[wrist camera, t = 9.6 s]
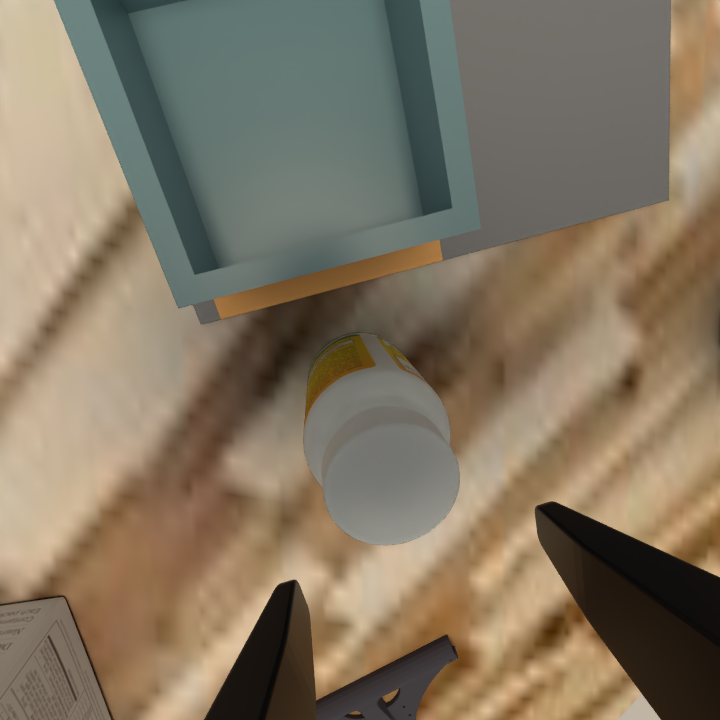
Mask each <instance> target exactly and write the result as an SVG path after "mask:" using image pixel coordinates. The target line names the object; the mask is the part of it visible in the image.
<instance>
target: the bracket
mask: <svg viewBox="0 0 720 720" xmlns="http://www.w3.org/2000/svg"><path fill="white" fill-rule="evenodd" d="M456 659H458V655H457V652H456V649H455V647H454V646H451V644H450V642H449V639H448V636H447V635H445V636H443V637H441V638H439V639H437V640H435V641H433V642H431V643H429V644H427V645H425V646H423V647H421V648H419V649H417V650H416V651H414V652H412V653H410V654H408V655H406V656H404V657H402V658H400V659H398V660H396V661H394V662H392V663H390V664H388V665H386V666H384V667H382V668H380V669H378V670H376V671H374V672H372V673H370V674H368V675H366V676H364V677H362V678H360V679H358V680H356V681H355V682H353V683H351V684H349V685H347V686H345V687H343V688H341V689H339V690H337V691H335V692H333V693H331V694H329V695H327V696H325V697H323V698H321V699H319V700H317V701H316V720H416V712H417V708H418V706H419V703H420V701H421V699H422V696H423V694H424V692H425V691H426V689H427V687H428V686H429V684H430V683H431V681H432V680H433V679H434V677H435V676H436V675H437V674H438V673H439V671H440V670H441V669H442V668H443V667H444V666H445V665H446V664H448V663H450V662H452V661H454V660H456ZM398 688H399V691H398V693H397V694H396V696H395V697H394V698H393V699H392V700H391V701H389V702H387V703H385V701H384V700H383V699H382V697H383V696H385V695H387V694H389V693H391V692H393V691H394V690H396V689H398ZM353 711H359V712H360V713H361V714H359V715H351V714H349V713H351V712H353Z"/></svg>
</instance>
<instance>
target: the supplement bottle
mask: <svg viewBox="0 0 720 720" xmlns="http://www.w3.org/2000/svg"><path fill="white" fill-rule="evenodd" d="M303 444H304V453H305V457H306V460H307V464H308V466H309V468H310V470H311V472H312V474H313V475H314V477H315V478H316V480H317V481H318V482H319V483H320V485H321V486H322V487H323V495H324V501H325V504H326V507H327V510H328V512H329V514H330V516H331V518H332V519H333V521H334V522H335V523H336V525H337V526H338V527H339V528H340V529H341V530H342V531H344V532H345V533H346V534H348V535H349V536H351V537H353V538H354V539H357V540H359V541H362V542H365V543H369V544H374V545H395V544H401V543H405V542H409V541H411V540H414V539H416V538H418V537H420V536H422V535H424V534H426V533H428V532H429V531H431V530H432V529H433V528H435V527H436V526H437V525H438V524H439V523H440V522H441V521H442V520H443V519H444V518H445V517H446V515H447V514H448V512H449V511H450V509H451V508H452V506H453V504H454V502H455V499H456V497H457V494H458V490H459V485H460V471H459V466H458V462H457V459H456V457H455V454H454V452H453V451H452V449H451V447H450V446H449V445H450V424H449V419H448V415H447V412H446V409H445V407H444V405H443V403H442V401H441V400H440V398H439V397H438V395H437V394H436V392H435V391H434V390H433V389H432V388H431V386H430V385H429V384H428V383H427V382H426V381H425V379H424V378H423V377H422V376H421V375H420V374H419V373H418V371H417V370H416V369H415V368H414V367H413V366H412V364H411V363H410V362H409V361H408V360H407V359H406V357H405V356H404V355H403V354H402V353H401V352H400V351H399V350H398V349H397V348H396V347H395V346H394V345H393V344H392V343H390V342H389V341H387V340H386V339H384V338H382V337H380V336H377V335H374V334H369V333H352V334H347V335H344V336H342V337H339V338H337V339H336V340H334V341H332V342H331V343H329V344H328V345H327V346H325V347H324V348H323V349H322V350H321V351H320V352H319V354H318V355H317V356H316V358H315V359H314V361H313V363H312V366H311V368H310V372H309V376H308V386H307V397H306V411H305V423H304V435H303Z"/></svg>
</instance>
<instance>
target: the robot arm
mask: <svg viewBox="0 0 720 720" xmlns="http://www.w3.org/2000/svg"><path fill="white" fill-rule="evenodd" d="M535 518H536V526H537V534H538V538H539V541H540V543H541V545H542V547H543V549H544V550H545V552H546V554H547V555H548V557H549V558H550V560H551V562H552V563H553V565H554V567H555V568H556V570H557V572H558V573H559V575H560V576H561V578H562V580H563V581H564V583H565V585H566V586H567V588H568V589H569V591H570V593H571V594H572V596H573V598H574V599H575V601H576V603H577V604H578V606H579V607H580V609H581V611H582V612H583V614H584V615H585V617H586V618H587V620H588V621H589V623H590V624H591V625H592V627H593V628H594V630H595V631H596V632H597V634H598V635H599V636H600V638H601V639H602V640H603V642H604V643H605V645H606V646H607V647H608V649H609V650H610V651H611V653H612V654H613V655H614V657H615V658H616V659H617V661H618V662H619V663H620V665H621V666H622V667H623V669H624V670H625V672H626V673H627V674H628V676H629V677H630V678H631V680H632V681H633V682H634V684H635V685H636V686H637V688H638V689H639V690H640V692H641V693H642V694H643V696H644V697H645V699H646V700H647V701H648V703H649V704H650V705H651V707H652V708H653V709H654V711H655V712H656V713H657V715H658V716H659V717H660V719H661V720H720V577H718V576H716V575H714V574H711V573H709V572H707V571H705V570H703V569H700V568H698V567H696V566H694V565H692V564H690V563H687V562H685V561H683V560H681V559H679V558H677V557H674V556H672V555H670V554H668V553H666V552H663V551H661V550H659V549H657V548H655V547H653V546H650V545H648V544H646V543H644V542H642V541H640V540H637V539H635V538H633V537H631V536H629V535H626V534H624V533H622V532H620V531H618V530H616V529H613V528H611V527H609V526H607V525H605V524H602V523H600V522H598V521H596V520H594V519H592V518H589V517H587V516H585V515H583V514H581V513H579V512H576V511H574V510H572V509H570V508H568V507H565V506H563V505H561V504H559V503H557V502H553V501H551V502H547V503H544V504H540V505H537V506H536V507H535ZM204 720H316V693H315V678H314V664H313V650H312V637H311V623H310V614H309V609H308V605H307V603H306V600H305V598H304V595H303V593H302V590H301V587H300V585H299V583H298V581H297V580H290V581H287V582H284V583H280V584H279V585H277V587H276V588H275V590H274V592H273V593H272V595H271V597H270V599H269V601H268V603H267V605H266V606H265V608H264V610H263V612H262V614H261V616H260V617H259V619H258V621H257V623H256V625H255V627H254V628H253V630H252V632H251V634H250V636H249V638H248V640H247V641H246V643H245V645H244V647H243V649H242V651H241V652H240V654H239V656H238V658H237V660H236V662H235V663H234V665H233V667H232V669H231V671H230V673H229V675H228V676H227V678H226V680H225V682H224V684H223V686H222V687H221V689H220V691H219V693H218V695H217V697H216V698H215V700H214V702H213V704H212V706H211V708H210V710H209V711H208V713H207V715H206V717H205V719H204Z"/></svg>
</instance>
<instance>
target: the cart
mask: <svg viewBox="0 0 720 720" xmlns="http://www.w3.org/2000/svg"><path fill="white" fill-rule="evenodd" d="M54 2H55V4H56V7H57V9H58V12H59V14H60V17H61V19H62V21H63V24H64V26H65V29H66V31H67V34H68V36H69V39H70V41H71V44H72V46H73V49H74V51H75V54H76V56H77V59H78V61H79V64H80V66H81V69H82V71H83V74H84V76H85V78H86V81H87V83H88V86H89V88H90V91H91V93H92V96H93V98H94V101H95V103H96V106H97V108H98V111H99V113H100V116H101V118H102V121H103V123H104V126H105V128H106V131H107V133H108V135H109V138H110V140H111V143H112V145H113V148H114V150H115V153H116V155H117V158H118V160H119V163H120V165H121V168H122V170H123V173H124V175H125V178H126V180H127V183H128V185H129V187H130V190H131V192H132V195H133V197H134V200H135V202H136V205H137V207H138V210H139V212H140V215H141V217H142V220H143V222H144V225H145V227H146V230H147V232H148V235H149V237H150V240H151V242H152V244H153V247H154V249H155V252H156V254H157V257H158V259H159V262H160V264H161V267H162V269H163V272H164V274H165V277H166V279H167V282H168V284H169V287H170V289H171V292H172V294H173V297H174V299H175V301H176V304H177V306H178V308H181V307H185V306H189V305H193V304H197V303H200V302H204V301H208V300H212V299H216V298H219V297H223V296H227V295H231V294H235V293H238V292H242V291H246V290H250V289H254V288H257V287H261V286H265V285H269V284H273V283H276V282H280V281H284V280H288V279H292V278H296V277H299V276H303V275H307V274H311V273H315V272H318V271H322V270H326V269H330V268H334V267H337V266H341V265H345V264H349V263H353V262H356V261H360V260H364V259H368V258H372V257H375V256H379V255H383V254H387V253H391V252H394V251H398V250H402V249H406V248H410V247H413V246H417V245H421V244H425V243H429V242H432V241H436V240H440V239H444V238H448V237H451V236H455V235H459V234H463V233H467V232H470V231H474V230H478V229H481V224H480V217H479V210H478V203H477V195H476V188H475V181H474V174H473V166H472V159H471V152H470V145H469V137H468V130H467V123H466V116H465V108H464V101H463V94H462V87H461V79H460V72H459V65H458V58H457V50H456V43H455V36H454V29H453V21H452V14H451V7H450V0H54Z"/></svg>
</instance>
